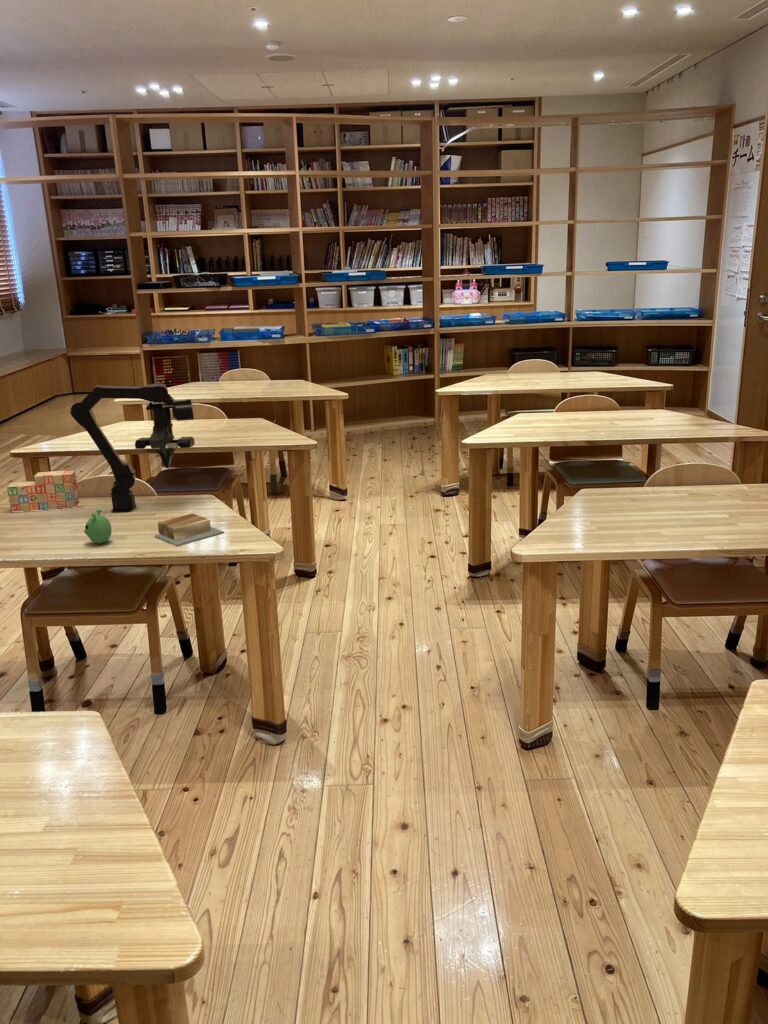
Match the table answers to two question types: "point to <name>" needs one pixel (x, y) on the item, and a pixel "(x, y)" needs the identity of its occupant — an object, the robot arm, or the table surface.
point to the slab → (184, 526)
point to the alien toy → (98, 528)
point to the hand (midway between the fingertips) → (167, 467)
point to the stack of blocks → (45, 492)
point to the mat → (190, 537)
